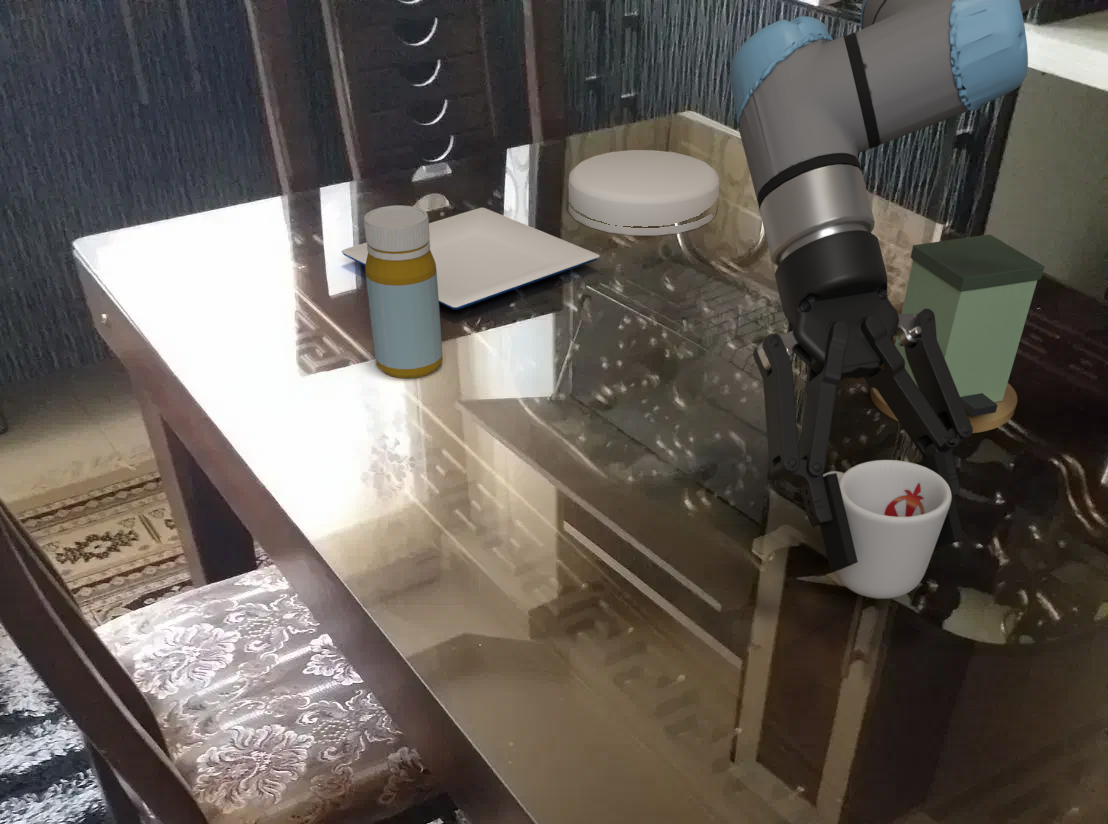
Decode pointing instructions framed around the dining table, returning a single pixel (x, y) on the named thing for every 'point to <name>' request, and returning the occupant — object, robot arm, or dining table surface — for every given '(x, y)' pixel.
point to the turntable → (977, 422)
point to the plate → (490, 256)
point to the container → (642, 192)
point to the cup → (891, 524)
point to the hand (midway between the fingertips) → (897, 555)
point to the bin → (973, 310)
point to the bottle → (402, 292)
